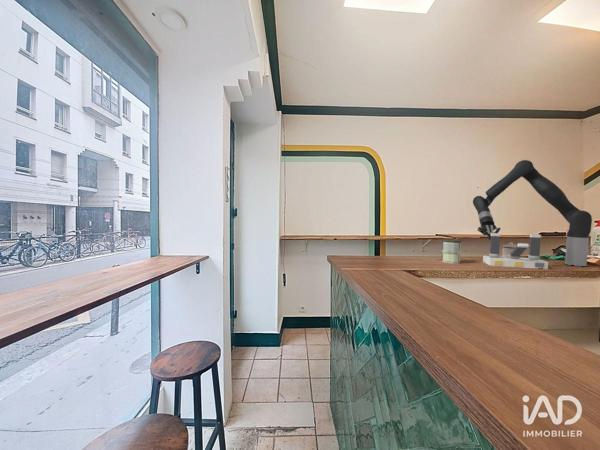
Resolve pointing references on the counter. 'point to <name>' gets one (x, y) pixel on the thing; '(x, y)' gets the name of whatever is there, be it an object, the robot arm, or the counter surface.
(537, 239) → the lever near
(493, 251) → the lever far
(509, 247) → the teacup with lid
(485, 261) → the console
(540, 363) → the counter surface
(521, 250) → the lever middle
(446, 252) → the coffee can
